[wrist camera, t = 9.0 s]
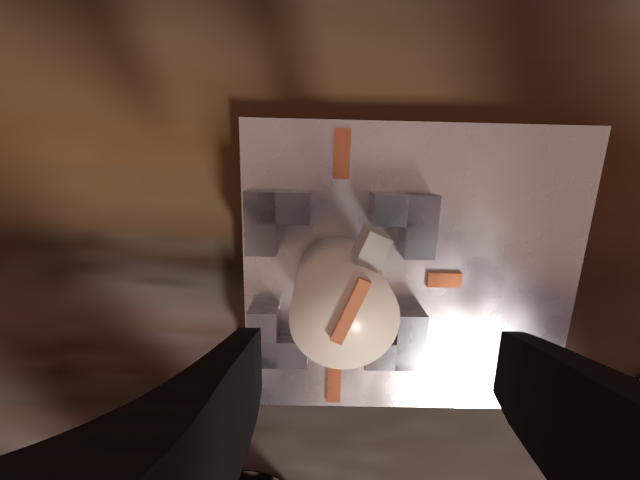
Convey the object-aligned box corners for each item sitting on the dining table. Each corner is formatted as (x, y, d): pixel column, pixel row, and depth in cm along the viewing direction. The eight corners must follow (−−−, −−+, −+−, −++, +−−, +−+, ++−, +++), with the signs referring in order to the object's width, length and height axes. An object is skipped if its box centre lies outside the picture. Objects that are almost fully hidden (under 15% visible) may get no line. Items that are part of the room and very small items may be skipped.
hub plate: (541, 398, 22) (570, 428, 19) (250, 393, 21) (242, 423, 19) (595, 127, 18) (639, 123, 15) (243, 119, 18) (231, 113, 15)
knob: (358, 326, 19) (372, 388, 14) (284, 297, 19) (271, 350, 14) (404, 232, 18) (439, 263, 13) (326, 199, 18) (330, 217, 12)
